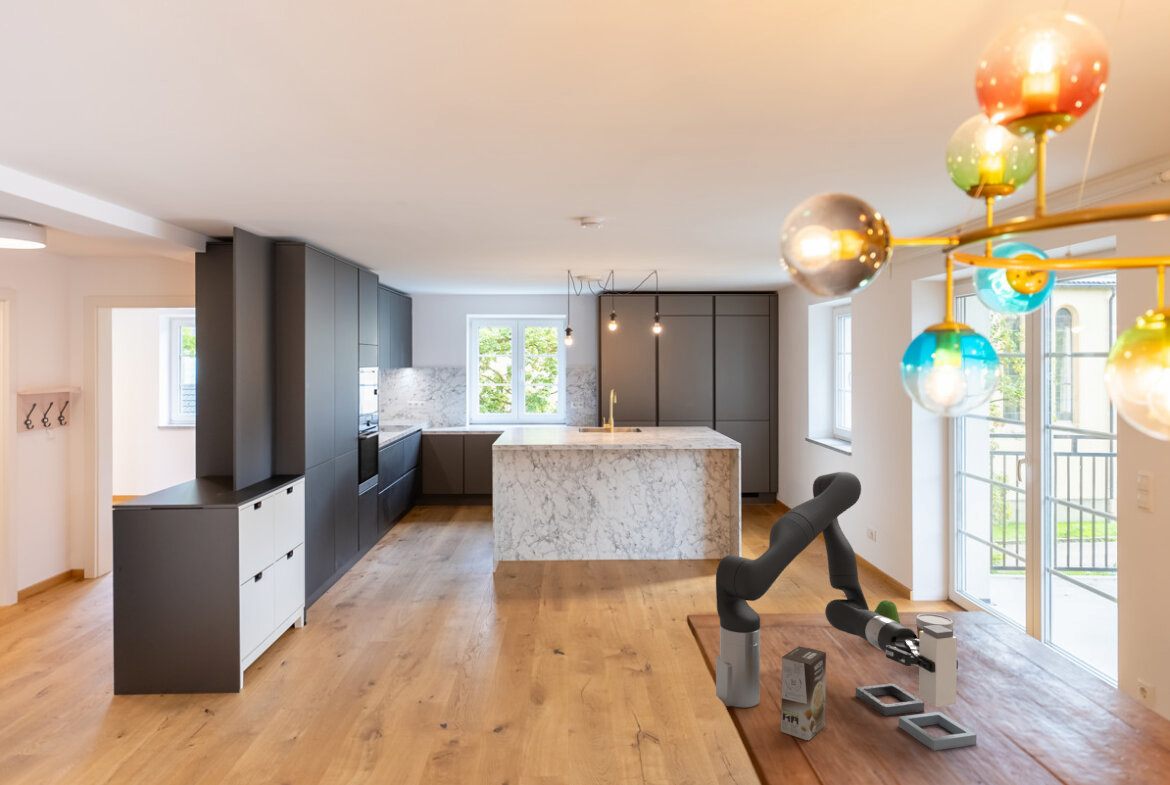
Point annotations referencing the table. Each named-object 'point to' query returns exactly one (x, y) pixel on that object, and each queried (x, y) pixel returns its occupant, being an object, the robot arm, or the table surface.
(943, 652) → the plug
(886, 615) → the avocado
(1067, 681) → the table surface
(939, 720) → the front socket
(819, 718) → the coffee box
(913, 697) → the back socket
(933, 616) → the disposable coffee cup
